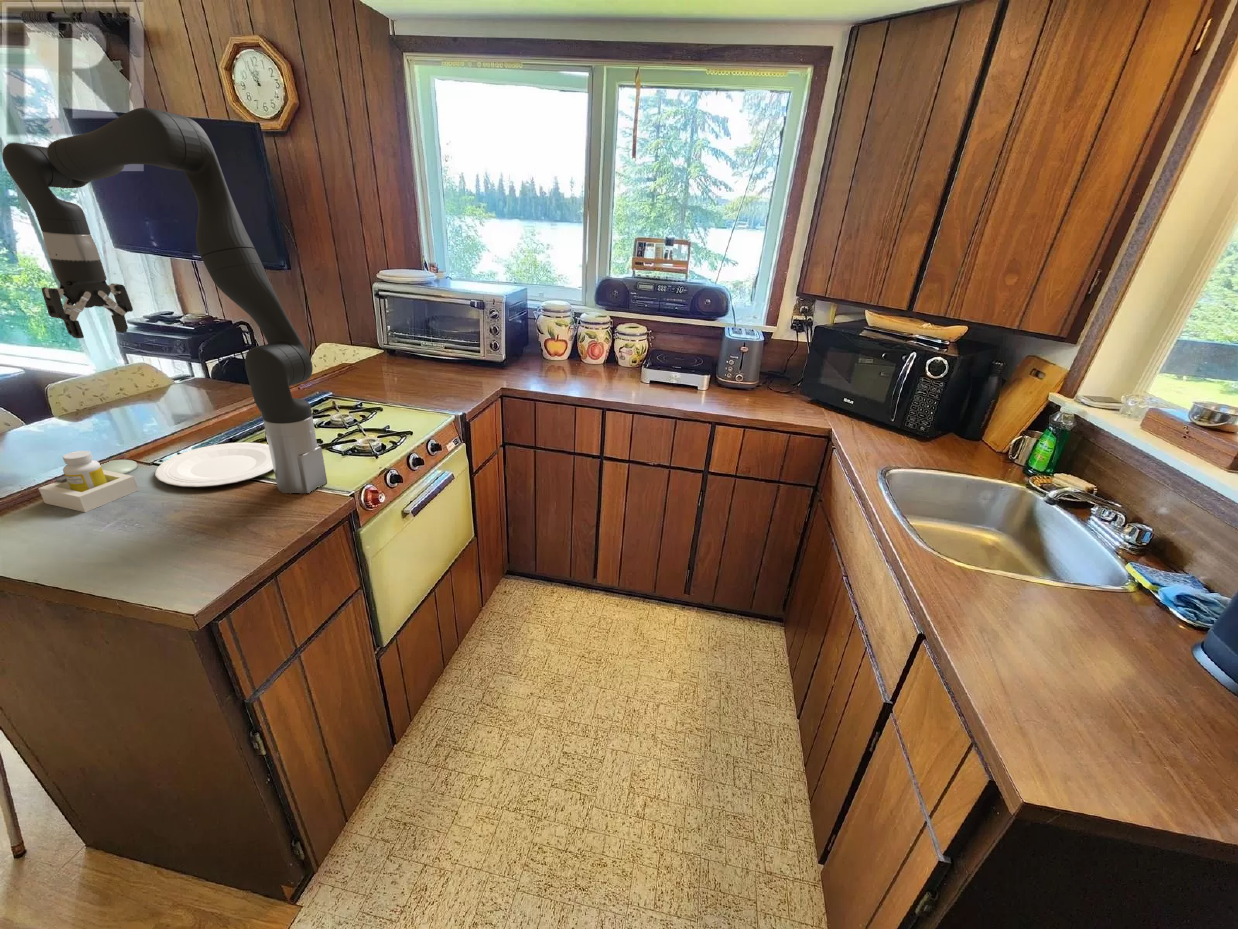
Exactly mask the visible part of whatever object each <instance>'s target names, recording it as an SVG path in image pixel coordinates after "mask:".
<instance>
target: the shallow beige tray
mask: <svg viewBox="0 0 1238 929" xmlns="http://www.w3.org/2000/svg"><path fill="white" fill-rule="evenodd" d="M103 473H104V475H105V478H106V480H107V483H105V484H103V485H100V486H97V487H95V488H92V489H89V490H87V491H84V492H78V491H73V490H71V489H70V486H69V484H68V482H67V479H66V477H65V475H64V476H60V477H58V478H55V481H54V482H52V483H49V484H47V485H43V486H41V487H38V491H39V493H40V496H41V497H42V499H43V502H44V503H45V504H47V505H52V506H56V507H60V508H64V509H69V510H74V511H78V512H83V513H87V512H89V511H92V510H94V509H97V508H98V507H99V508H100V507H101V506H104V505H106V504H109V503H111V502H114V501H116V500H119V499H121V498H123V497H126V496H128V495H131V494H133V493H135V492H139V487H138V485H137V482H136V479H135V476H134V475H129V474H121V473H116V472H112V471H107V470H103Z"/></svg>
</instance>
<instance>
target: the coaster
mask: <svg viewBox="0 0 1238 929" xmlns="http://www.w3.org/2000/svg"><path fill="white" fill-rule="evenodd" d="M108 461H109V462H107V463H104V464H101V468H102V470H107V471H112V472H116V473H121V474H126V475H129V474H131V473H132V472H134V471H136V469H138V462H137V461H134V460H131V459H115V460H114V459H113V460H108Z"/></svg>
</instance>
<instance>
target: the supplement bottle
mask: <svg viewBox="0 0 1238 929" xmlns="http://www.w3.org/2000/svg"><path fill="white" fill-rule="evenodd" d="M93 458H94V457H93V455H92V452H91V451H90V450H75V451H72V452H68V453H65V454H64V455H63V456H62V459H63V462H64V464H65V466H64V467H63V469H62V471H63V475H64V476H65V477H66V479H67V482H68V484H69V486H70V489H71V490H73V491H78V492H84V491H87V490H89V489H92V488H95V487H97V486H100V485H103V484H105V483H107V480H106V478H105V475H104V473H103V470H102V468H101V465H100V463H101V462H99V461H97V460H94V459H93Z"/></svg>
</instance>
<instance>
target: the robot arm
mask: <svg viewBox="0 0 1238 929" xmlns="http://www.w3.org/2000/svg"><path fill="white" fill-rule="evenodd" d="M1 157H2V162H3V164H4V167H5V169H6V171H7V172H8V174H9V175H10V177H11V178H12V179H13V181H14V183H15V184H16V185H17V186H18V188H19V190H20V191H21V193H22V194H23V195H24V197H25V198H26V200H27V201H28V203H29V204H30V206H31V208H32V209H33V211H34V213H35V217H36V219H37V222H38V224H39V227H40V229H41V235H42V237H43V244H44V247H45V250H46V253H47V255H48V258H49V261H50V263H51V267H52V269H53V272H54V275H55V277H56V278H55V279H57V281H58V282H59V288H55V287H46V286H44V287H41V292H42V296H43V299H44V303H45V306H46V309H47V313H48V316H49V317H51V318H56V319H61V320H62V321H63V323H64V325H65V328H66V330H67V333H68V334H69V335H70V336H71V337H73V338H75V339H85V335H84V333H83V330H82V327H81V324H80V321H79V320H78V317H79V315H80V313H82V312H83V311H84V309H85V308H86V309H87V308H89V309H90V308H93V307H100V308H101V307H103V308H104V309H106V310H107V311H108V312H109V313H111V315H110V317H111V319H112V322H113V325H114V328H115V330H116V333H127V332H128V328H129V327H128V323H127V320H126V316H125V315H126V314H127V313H129V312H131V313H132V312H133V311H134V309H133V308H134V307H133V305H132V303H131V300H130V297H129V295H128V292H127V288H126V286H124V285H123V284H120V283H110V284H108V283H107V282H106V280H107V275H106V272H105V269H104V267H103V263H102V260H101V257H100V253H99V250H98V247H97V245H96V242H95V241H94V238H93V236H92V233H91V231H90V227H89V224H88V222H87V221H88V220H87V218H86V214H85V212H84V209H82V207H81V206H80V205H78V204H76V203H73V202H71V201H67V200H62V199H60V198H58V197H57V196H56V194H55V193H54V192H53V191H52V190H51V189H50V188H56V189H57V188H59V189H61V188H62V189H77V188H78V189H79V188H82V187H85V186H86V185H87V184H89V183H90V182H92V181H96V180H100V179H106V178H110V177H114V176H116V175H118V174H120V173H121V172H122V170H123V169H124V168H125V166H126V165H148V166H155V167H159V168H163V169H167V170H173V171H174V170H175V171H182V172H183V173H184V174H185V177H186V178H187V180H188V182H189V184H190V187H191V188H192V191H193V193H194V195H195V200H196V202H197V209H198V212H197V214H198V215H197V222H196V223H197V224H196V231H195V242H196V243H195V244H196V249H197V251H198V253H199V256H200V258H201V260H202V262H203V264H204V266H205V268H206V270H207V272H208V274H209V276H210V278H211V279H212V281H213V283H214V284H215V285H216V287H217V288H218V289H219V290H220V291H221V292H222V293H223V294H224V295H225V296H226V297H228V298H229V299H230V300H231V301H232V302H233V303H235V304H236V305H237V306H238V307H239V308H241V309H242V310H243V311H244V312H246V313H247V315H249V316H250V318H251V319H252V320H253V321H254V322H255V323H256V325H257V326H258V327H259V329H260V331H261V332H262V334H263V337H264V338H265V340H266V342H267V343H266V344H262V345H257V346H255V347H252V348H250V349H248V350H247V352H246V354H245V357H244V365H245V372H246V376H247V379H248V383H249V386H250V390H251V393H252V397H253V401H254V403H255V405H256V407H257V408H258V410H259V412H260V414H261V417H262V421H263V426H264V431H265V435H266V440H267V443H268V444H267V445H269V450H270V455H271V459H272V464H273V473H274V477H275V481H276V482H275V483H276V486H277V490H278V491H279V492H281V493H283V494H287V493H290V495H292V494H291V493H300V494H306V493H309V494H311V493H312V492H313V491H312V490H314V489H315V488H316V487H317V486H321V487H323V486H324V485H326V484H327V483H328V479H327V478H328V477H327V472H326V466H325V460H324V455H323V449H322V446H319V445H318V442H317V435H316V430H315V424H314V418H313V413H312V406H311V404H310V402H308V401H307V400H305V399H301V398H294V397H293V394H292V392H291V388H290V387H291V386H294V385H297V384H301V383H304V382H306V381H308V380H310V378H311V377H312V375H313V367H314V366H313V361H312V359H311V356H310V353H309V352H308V350H307V348H306V346H305V344H304V343H303V341H302V339H301V338H300V336H299V334H298V333H297V331H296V329H295V327H294V325H293V324H292V322H291V320H290V319H289V317H288V315H287V313H286V311H285V309H284V307H283V305H282V304H281V302H280V299H279V298H278V295H277V293H276V292H275V289H274V288H273V286H272V283H271V282H270V279H269V277H268V274H267V273H266V270H265V267H264V265H263V263H262V261H261V258H260V257H259V254H258V252H257V250H256V248H255V246H254V244H253V242H252V240H251V238H250V236H249V234H248V232H247V230H246V228H245V226H244V224H243V221H242V219H241V216H240V214H239V212H238V209H237V208H236V204H235V203H234V199H233V197H232V195H231V192H230V190H229V187H228V184H227V181H226V178H225V176H224V173H223V170H222V168H221V165H220V162H219V159H218V156H217V154H216V151H215V148H214V147H213V144H212V141H211V140H210V138H209V136H208V134H207V133H206V131H205V130H204V129H203V128H202V126H200V124H199V123H197V122H196V121H195V120H193V119H192V118H189V117H187V116H184V115H180V114H176V113H172V112H169V111H165V110H161V109H156V108H152V107H150V108H149V107H138V108H135V109H134V108H133V109H132V110H129V111H128V112H125V113H124V114H122V115H120V116H119V117H117V118H115V119H114V120H112V121H110V122H108V123H105V125H104V124H103V126H101V127H99V128H96V129H95V130H92V131H88V132H85V133H81V134H77V135H72V136H67V137H63V138H58V139H56V140H54V141H52V142H50V144H49V145H48V146H46V147H45V146H42V145H41V146H40V145H34V144H28V143H20V142H12V143H8V144H6V145H5V146H4V148H3V149H2V156H1ZM110 294H112V295H113V297H114V299H115V301H114V300H113V299H112V298H111V297H110ZM63 296H64V297H65V298H66V299H65V301H64V302H63V301H62V298H63ZM322 485H323V486H322ZM311 491H312V492H311ZM314 491H315V490H314ZM310 492H311V493H310Z"/></svg>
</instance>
